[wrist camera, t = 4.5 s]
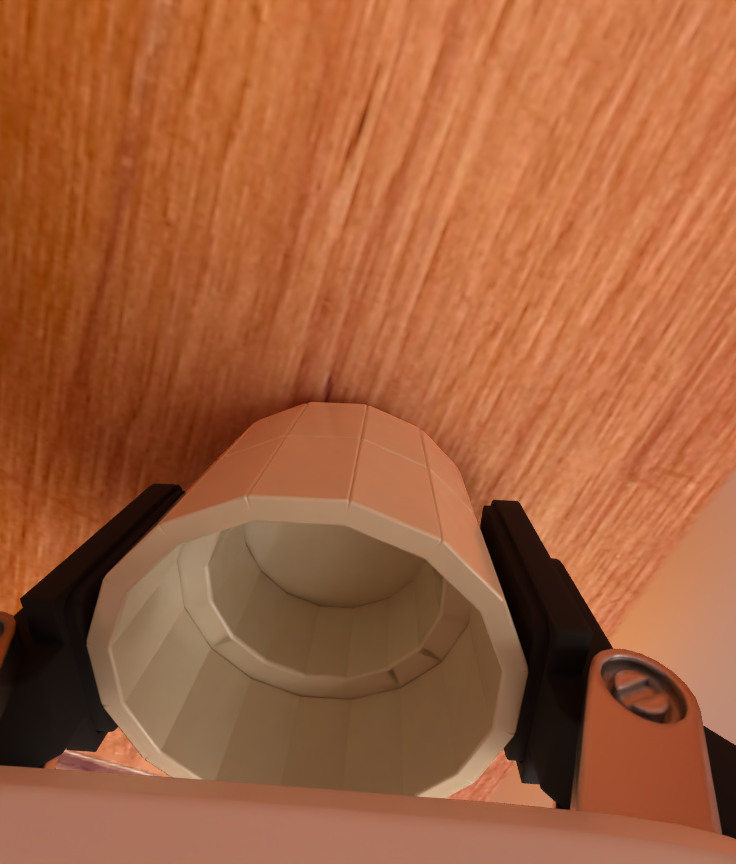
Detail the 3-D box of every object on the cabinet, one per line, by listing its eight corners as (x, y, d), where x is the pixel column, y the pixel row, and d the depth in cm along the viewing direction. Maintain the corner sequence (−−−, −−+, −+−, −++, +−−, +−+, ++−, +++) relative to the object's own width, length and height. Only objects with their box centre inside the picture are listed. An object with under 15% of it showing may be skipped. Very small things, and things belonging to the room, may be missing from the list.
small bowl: (483, 401, 10) (564, 511, 5) (455, 627, 12) (494, 839, 8) (200, 391, 10) (42, 485, 6) (225, 613, 13) (127, 811, 8)
